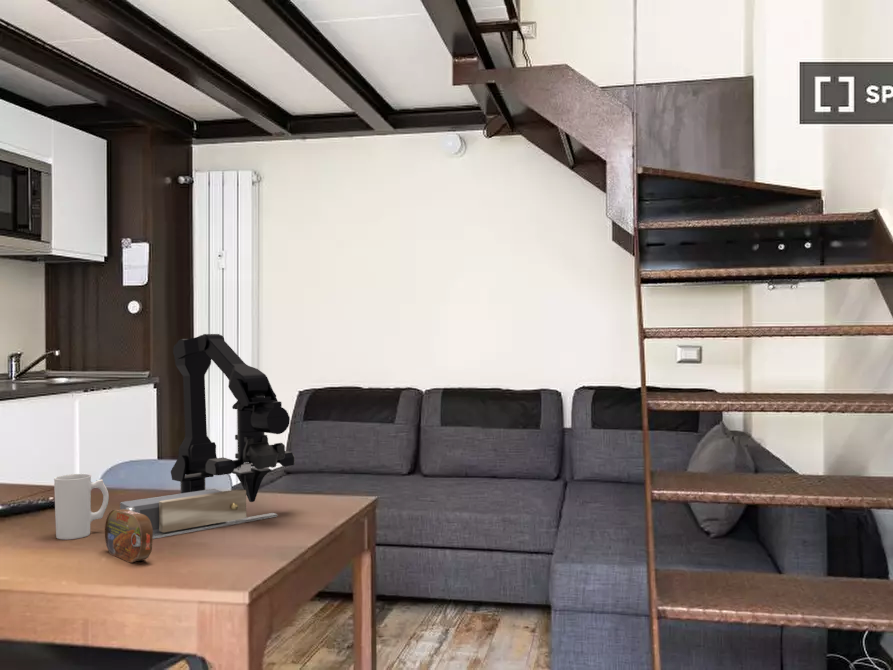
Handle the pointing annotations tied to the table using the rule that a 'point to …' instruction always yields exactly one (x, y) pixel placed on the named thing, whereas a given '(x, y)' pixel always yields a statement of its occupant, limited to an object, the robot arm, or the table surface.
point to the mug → (76, 505)
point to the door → (201, 510)
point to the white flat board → (247, 519)
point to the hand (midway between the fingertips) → (251, 501)
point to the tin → (128, 535)
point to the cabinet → (152, 505)
